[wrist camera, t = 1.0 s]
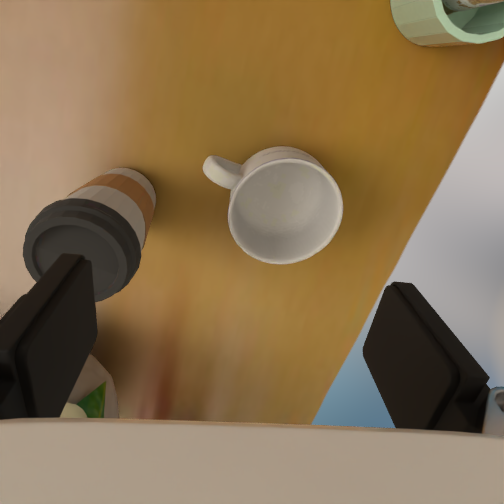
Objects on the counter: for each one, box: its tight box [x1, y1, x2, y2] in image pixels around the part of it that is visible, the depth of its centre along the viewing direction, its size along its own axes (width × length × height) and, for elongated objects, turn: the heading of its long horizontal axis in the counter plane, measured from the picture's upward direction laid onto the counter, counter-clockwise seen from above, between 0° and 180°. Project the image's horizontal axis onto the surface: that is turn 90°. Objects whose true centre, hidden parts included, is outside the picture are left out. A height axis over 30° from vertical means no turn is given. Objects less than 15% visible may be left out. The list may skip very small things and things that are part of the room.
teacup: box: [203, 146, 343, 264], centre depth 36 cm, size 14×11×8 cm
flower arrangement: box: [60, 354, 119, 419], centre depth 39 cm, size 25×25×24 cm
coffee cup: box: [23, 168, 156, 302], centre depth 33 cm, size 8×8×15 cm
